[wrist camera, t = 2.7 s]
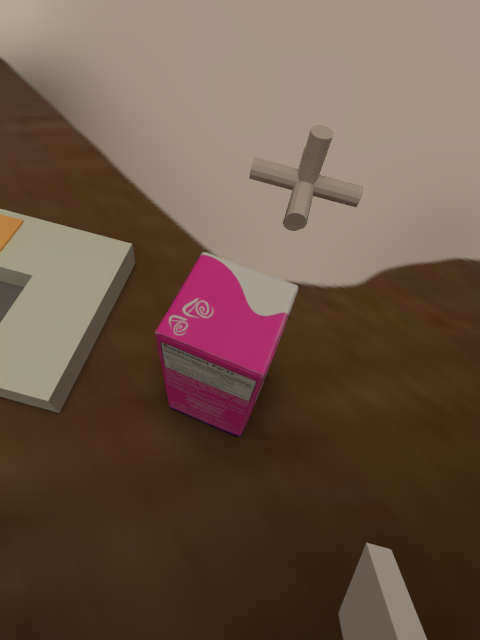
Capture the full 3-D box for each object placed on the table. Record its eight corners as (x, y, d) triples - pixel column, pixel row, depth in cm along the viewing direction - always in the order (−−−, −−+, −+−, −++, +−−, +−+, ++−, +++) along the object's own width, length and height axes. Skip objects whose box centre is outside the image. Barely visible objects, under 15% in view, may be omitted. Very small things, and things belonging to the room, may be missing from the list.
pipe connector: (255, 180, 41) (273, 85, 33) (344, 204, 41) (385, 114, 32) (232, 246, 36) (246, 152, 27) (333, 274, 36) (380, 188, 27)
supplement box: (198, 342, 30) (204, 246, 20) (267, 371, 30) (306, 285, 20) (164, 407, 27) (152, 330, 17) (240, 440, 27) (271, 379, 17)
